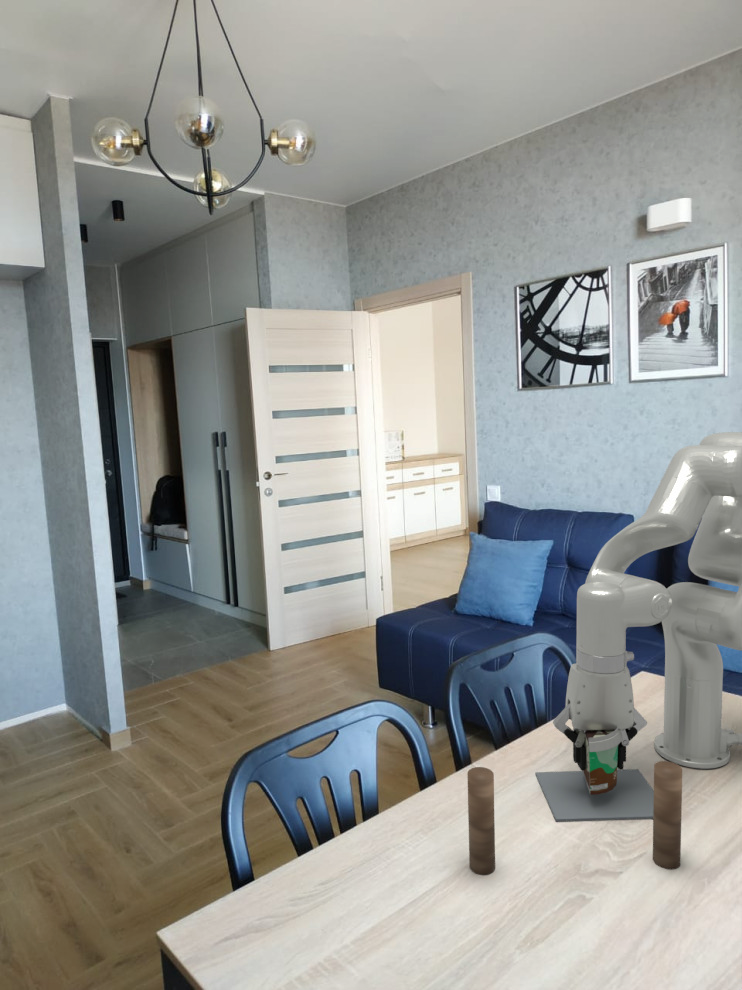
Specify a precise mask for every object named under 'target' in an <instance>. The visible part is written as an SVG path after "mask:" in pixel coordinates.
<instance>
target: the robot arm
mask: <svg viewBox="0 0 742 990" xmlns="http://www.w3.org/2000/svg"><path fill="white" fill-rule="evenodd" d="M693 537H694V539H693V541H692V544H691V547H690V549H689V553H688V558H687V563H688V568H689V570H690V571H691V573H693V574H694V575H695V576H697V577H699V578H701V579H704V580H708V581H711V582H716V583H719V584H725V585H729V586H735V587H738V589H737V591H732V590H727V589H723V588H720V587H716V586H711V585H707V584H703V583H697V582H690V581H689V582H688V581H685V582H684V581H683V582H676V583H673V584H671V585H670V586H668V587H667V588H666V587H665V585H664V584H662V583H660V582H658V581H656V580H651V579H648V578H644V577H641V576H640V577H639V576H635V575H632V574H627V573H625V572H626V570H627V569H628V568H629V567H630V565H631V564H633V562H635V561H636V560H637V559H639V558H640V557H642V556H644V555H646V554H648V553H651V552H653V551H657V550H661V549H665V548H668V547H672V546H676V545H679V544H682V543H685V542H688V541H689V540H691V539H692V538H693ZM594 559H595V560H594V561H593V563H592V566H591V567H590V570H589V571H588V574H587V576H586V578H585V583H584V584H582V585H580V586H579V587H578V589H577V592H576V641H575V642H576V651H575V652H576V655H575V657H576V658H575V661H576V663H573V664H571V666H570V669H569V671H568V672H569V673H568V677H567V680H568V681H567V684H566V685H567V686H566V695H565V707H564V708H563V709H562V710H561V711H560V713H559V714H558V715H557V716H556V717H555V718H554V719H553V721H552V724H553V726H554V727H555V729H556V730H557V731H559V732H561V733H562V734H564V736H565V737H566V738H567V739H568V740H569V741H571V743H572V746H573V747H572V749H573V751H572V756H573V757H572V759H573V762H574V764H577V766H578V767H579V770H580V771H582V770H585V769H586V748H585V746H584V744H583V742H584V739H585V737H586V732H587V731H594V730H616V728H617V727H618V729H619V730H621V733H622V741H621V742H620V743H619V744H618V761H617V770H624V763H625V762H627V747H628V746H629V744H630V741H631V740H632V739H633V738H635V737H636V735H638V732H640V731H642V729H643V728H645V727H646V726H647V725H648V720H646V719H645V717H644V716H643V715H642V714H641V713H640V712H639V711H638V710H637V708H635V703H634V702H635V701H634V699H635V698H634V690H633V684H632V678H631V674H630V673H631V672H630V669H629V668H628V665H627V663H628V662H630V661H634V660H635V654H634V652H633V651H627V650H626V649H627V648H626V645H627V644H626V643H627V642H626V641H627V640H626V635H627V631H626V630H627V629H628V628H635V627H636V628H637V627H651V626H654V625H657V624H660V623H661V625H662V630H663V636H664V637H663V638H664V639H663V640H664V653H665V654H664V656H665V657H664V663H665V664H664V694H663V696H664V700H663V701H664V703H663V704H664V705H663V707H664V708H663V732H662V733H659V734H658V735H657V736H656V737H655V739H654V744H653V745H654V746H653V747H654V749H655V751H656V753H658V755H659V756H661V757H662V758H664V759H665V760H667V761H668V762H673V763H675V764H678V765H679V766H683V767H687V768H692V769H702V770H703V769H704V770H705V769H706V770H709V769H710V770H711V769H717V768H721V767H723V766H725V765H727V764H728V763H729V762H730V759H731V753H730V747H732V745H737V746H738V745H739V746H742V733H735V731H734V729H733V728H725V729H722V719H723V718H722V715H723V713H722V710H723V708H722V707H723V682H724V681H723V679H724V678H723V677H724V676H723V675H724V663H723V657H722V654H721V652H720V649H719V646H722V647H725V648H729V649H733V650H737V651H742V431H725V432H715V433H712V434H707V436H705V437H704V438H702V439H701V441H700V442H699V444H695V445H694V444H693V445H688V446H684V447H682V448H680V449H678V451H676V453H674V454H673V456H672V458H671V460H670V462H669V464H668V466H667V467H666V470H665V471H664V474H663V476H662V478H661V480H660V482H659V484H658V486H657V488H656V490H655V492H654V494H653V496H652V498H651V500H650V501H649V504H648V506H647V508H646V510H645V513H643V515H642V516H641V517H639V518H637V519H636V520H634V521H633V522H631V523H630V524H628V525H626V527H624V528H623V529H621V530H620V531H619V532H617V533H616V534H615V535H614V536H612V537H611V538H610V539H609V540H608V541H607V542H605V544H604V545H602V547H601V548H600V550H599V552H598V553H597V556H596V558H594ZM569 720H571V725H572V727H573V728H571V727H569V726H568V725H567V724H566V723H567V722H568V721H569Z"/></svg>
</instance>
